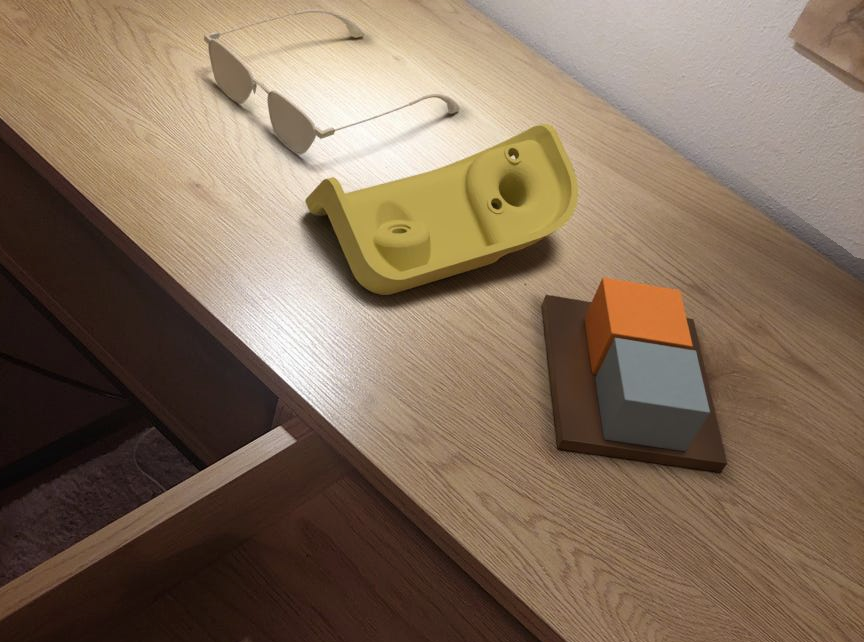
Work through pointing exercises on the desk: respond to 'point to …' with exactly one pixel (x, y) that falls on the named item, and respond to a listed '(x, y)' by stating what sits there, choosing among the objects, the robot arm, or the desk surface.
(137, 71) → the desk surface
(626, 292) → the orange cube
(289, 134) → the eyeglasses
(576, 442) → the board
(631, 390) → the grey-blue cube
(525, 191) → the plastic component
